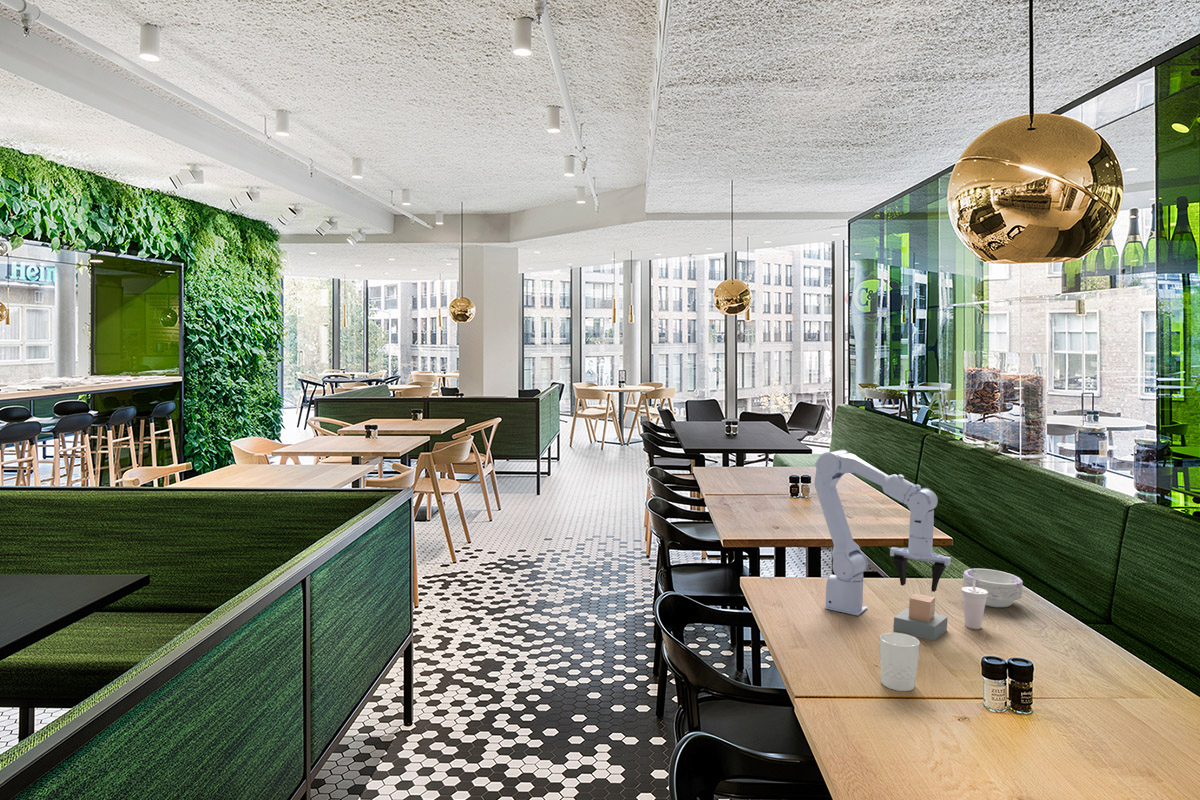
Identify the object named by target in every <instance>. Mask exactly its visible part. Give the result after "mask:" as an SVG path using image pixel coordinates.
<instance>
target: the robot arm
mask: <svg viewBox="0 0 1200 800" xmlns="http://www.w3.org/2000/svg"><path fill="white" fill-rule="evenodd" d="M814 466H815V468H816V470H815V477H814V481H813V482H814V488H815V491H816V494H817V497H818V500H819V501H818V502H819V504H820V507H821V510H822V513H823V516H824V520H825V522H826V525H827V528H828V531H829V534H830V537H831V541H832V543H833V548H832V551H831V557H832V570H833V573H834V574H830V575H828V577H827V581H826V583H825V584H826V585H825V606H824V609H826V610H830V611H835V612H839V613H840V612H841V613H844V614H848V615H853V616H860V615H862V613H864V612H865V611H866V610H868V606H865V605H863V602H864V601H863V600H864V579H865V578H864V572H866V570H867V569H868V566H869V562H868V559H867V557H866V555H865V554H864V553H863V551H862V550H861V547H860V545H859V544H858V543H857V542H855V540H854V539H853V535H852V532H851V530H850V526H849V523H848V521H847V517H846V515H845V511H844V509H843V508H844V507H843V505H842V502H841V499H840V496H839V493H838V490H837V486H836V485H838V483H839V481H840V480H841V478H842V476H844V475H845V474H856V475H858V476H860V477H862V478H865V479H867V480H869V481H870V482H873V483H875V484H877V485H879V486H881V487H882V491H883V493H884V494H886V495H888V496H889V497H891V498H893V499H895V500H897V501H899V502H900V503H902V504H904V505H907V506H906V507H907V508H908V509H909V513H910V515H909V528H908V529H909V531H908V547H907V548H903V547H901V548H900V547H893V546H892V547H891V548H889V549H890V550H889V556H890V557H893V558H892V562H893V564H894V566H895V568H896V570H897V571H896V572H897V574H898V577H899V583H900V586H902V587H903V586H905V585H906V583H907V566H908V559H909V560H915V561H922V562H927V563H932V565H931V573H932V575H931V576H932V577H931V578H932V579H931V592H933V593H935V592H936V591H937V588H938V585H939V581H940V579H941V576H942V574H943V572H944V571H945V569H946V568H947V567H950V566H951V565H952V564H951V560H952V557H951V556H947V555H946V556H945V555H941V554H938V553H935V552H933V544H934V542H933V539H934V527H935V526H934V523H935V519H934V517H935V510H934V509H935V508H937V506H938V503H939V501H938V500H939V499H938V498H939V497H938V496H937V495H936V493H935V492H934V491H933V490H931V488H928V487H923V488H922V486H921V485H920V484H918V483H917V484H915V483H913V482H910V481H909V480H907V479H905V476H904V475H903V474H900V473H899V474H898V475H897V474H895V473H894V474H890V475H889V474H887V473H885V472H883V471H882V470H880V469H878V468H877V467H875V466H874V465H872V464H870V463H868V462H866V461H865V460H863V459H862V458H860V457H858V456H857V455H856V454H855V453H850V452H848V451H847V450H846V449H837V450H835V451H830V452H824V453H822V454H821V455H820V456H819V457H818V459H817V460H816V462H815V464H814Z"/></svg>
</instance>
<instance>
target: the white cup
mask: <svg viewBox="0 0 1200 800" xmlns="http://www.w3.org/2000/svg"><path fill="white" fill-rule="evenodd" d="M920 642H921V641H920V640H919V638H918V637H916V636H912V635H908V634H904V633H900V632H885V633H882V634H880V635H879V646H880V647H879V649H880V652H879V657H880V658H879V660H880V661H879V662H880V665H879V666H880V682H881V684H882V686H884V687H886V688H887V689H890V690H893V691H898V692H910V691H913V690H914V689H915V688H916V680H917V679H916V678H917V673H918V666H919V665H918V664H919V653H920Z"/></svg>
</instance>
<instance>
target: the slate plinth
mask: <svg viewBox="0 0 1200 800" xmlns="http://www.w3.org/2000/svg"><path fill="white" fill-rule="evenodd" d="M947 631H948V616H946V615H941V614H938V613H934V617H933V618H932V620H931V621H930V622H927V621H923V620H918V619H914V618H909V607H906V608H905V609H904V610H903V611H901V612H899V613H898V614H896V615H894V616H893V632H895V633H902V634H907V635H910V636H913V637H915V638H921V639H924V640H928V641H932V642H934V641H936V640H937V639H938V638H939V637H941V636H942V635H943V634H944V633H945V632H947Z"/></svg>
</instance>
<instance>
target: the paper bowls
mask: <svg viewBox="0 0 1200 800" xmlns="http://www.w3.org/2000/svg"><path fill="white" fill-rule="evenodd" d="M973 573H976V580H975V587H977V588H982V589H984V590H986V591H988V597H987V598H986V603H985V607H992V608H1007V607H1008V608H1009V607H1010V606H1012V604H1013V603H1014V602H1015V601H1017V600H1020V599H1021V598H1022V595H1023V585H1024V584H1023V583H1024V581H1023V580H1022V579H1021V578H1020V577H1019V576H1017V575H1015V574H1012V573H1008V572H1005V571H1001V570H997V569H989V568H969V569H966V570H964V571H963V578H962V579H963V580H962V588H963V587H973Z"/></svg>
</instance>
